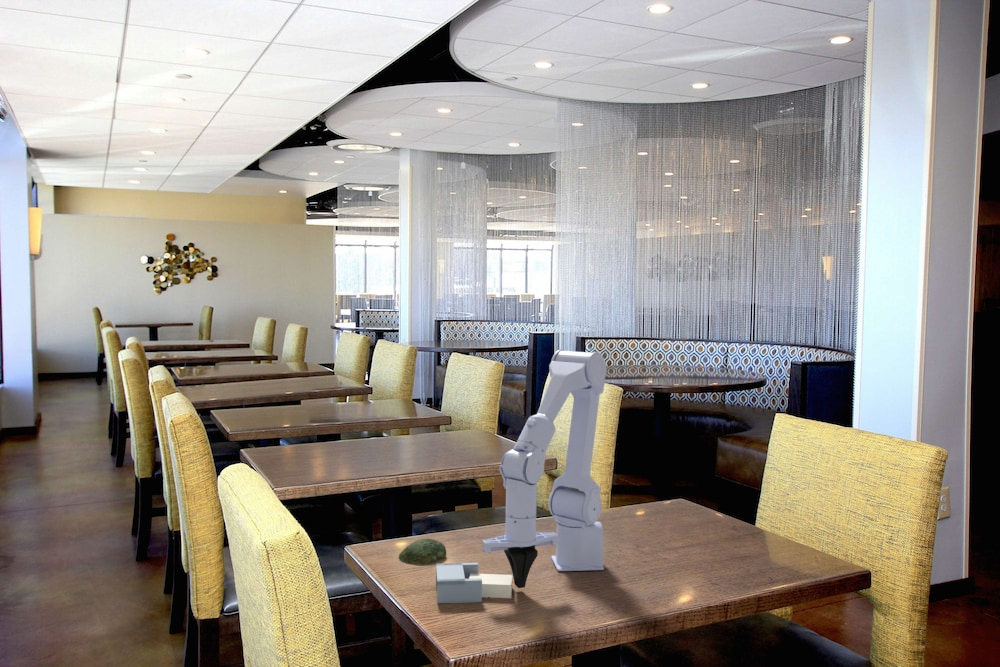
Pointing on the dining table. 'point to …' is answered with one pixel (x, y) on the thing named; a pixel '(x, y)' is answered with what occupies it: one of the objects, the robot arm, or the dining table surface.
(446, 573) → the bracket
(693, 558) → the dining table surface
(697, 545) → the dining table surface
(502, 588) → the cream rectangular block
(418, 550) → the seashell
